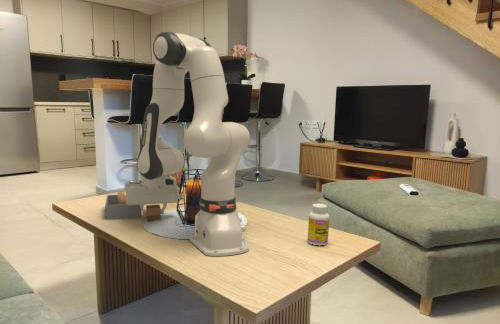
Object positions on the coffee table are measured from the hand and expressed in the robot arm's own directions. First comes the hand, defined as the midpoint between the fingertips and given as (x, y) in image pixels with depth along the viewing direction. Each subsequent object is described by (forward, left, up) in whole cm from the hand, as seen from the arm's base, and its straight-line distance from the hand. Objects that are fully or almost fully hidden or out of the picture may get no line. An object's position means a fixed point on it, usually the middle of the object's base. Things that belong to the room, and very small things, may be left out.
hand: (153, 214), depth 143 cm
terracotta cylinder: (+16, +11, -1) cm, 19 cm away
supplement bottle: (-40, -50, -2) cm, 64 cm away
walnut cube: (0, 0, -2) cm, 2 cm away
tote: (+12, +11, -2) cm, 16 cm away
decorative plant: (+39, -11, -2) cm, 40 cm away
